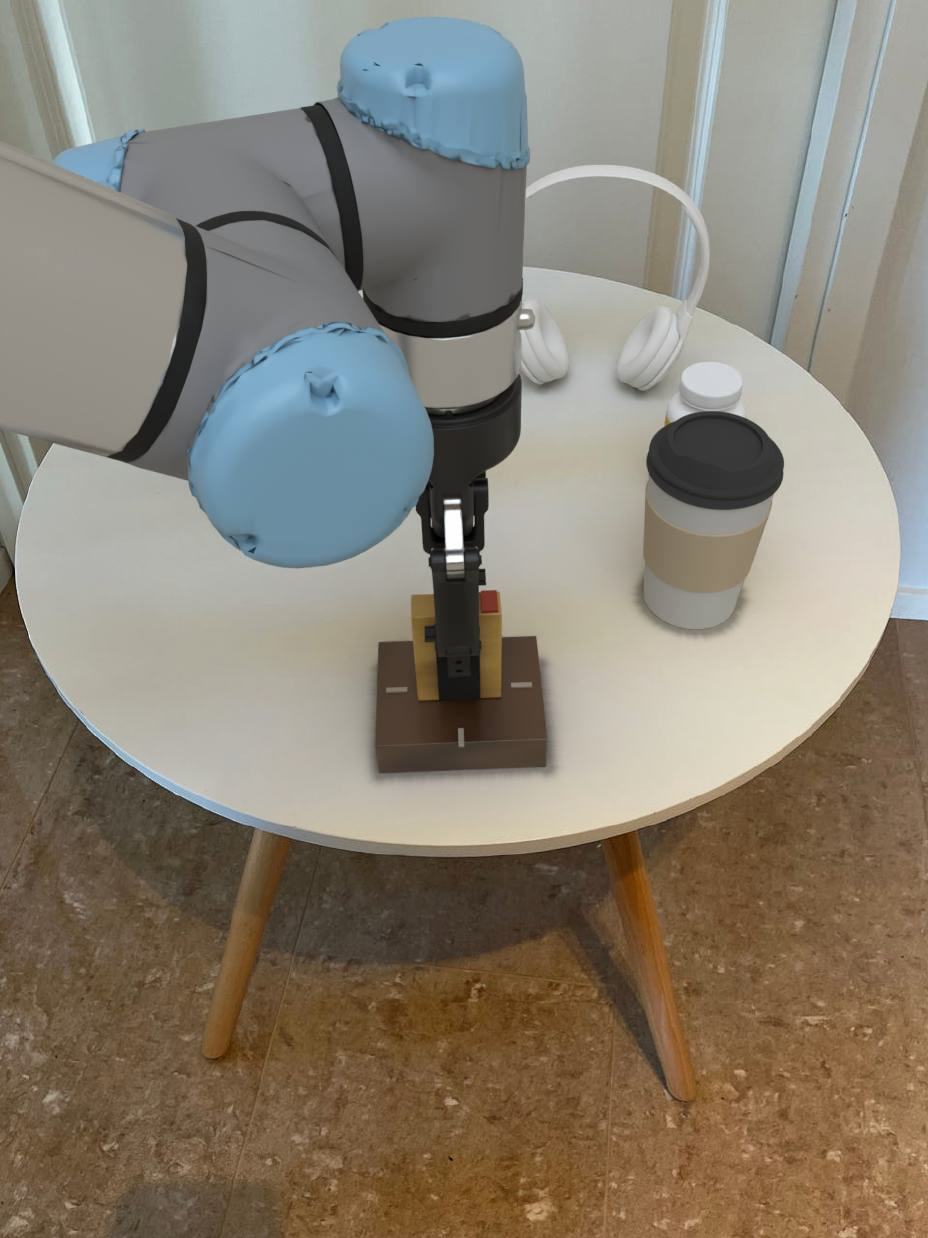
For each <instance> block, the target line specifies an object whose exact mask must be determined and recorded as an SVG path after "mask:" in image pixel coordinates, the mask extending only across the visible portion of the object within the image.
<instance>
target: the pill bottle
mask: <svg viewBox="0 0 928 1238" xmlns="http://www.w3.org/2000/svg"><path fill="white" fill-rule="evenodd" d="M743 384H744V379H743V376H742V375H741V373H740V372H739V371H738V370H737V369H736V368H734V367H733V366H731V365H728V364H726V363H723V362H719V361H701V362H697V363H693V364H691V365H689V366H688V367H686V368H685V369H684V370H683V371H682V373H681V375H680V381H679V386H678V391H677V392H676V393H674V395H672V397H671V398H670V400H669V402H668V404H667V407H666V410H665V419H664V426H666V425H668V424H670V423H672V422H674V421H677V420H678V419H680V418H681V417H683V416H686V415H688V414H692V413H696V412H703V411H719V412H726V413H731V414H735V415H739V416H742V417H744V418H746V419H747V409H746V406H745V404H744V402H743V400H742V399H741V396H742V392H743V387H744V385H743Z"/></svg>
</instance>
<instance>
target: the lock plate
mask: <svg viewBox="0 0 928 1238" xmlns="http://www.w3.org/2000/svg"><path fill="white" fill-rule="evenodd" d="M540 667H541V666H540V657H539V649H538V638H537V635H522V636H502V655H501V697H495V698H481V699H470V700H447V701H439V700H422V701H419V700H418V694H417V682H416V671H415V659H414V647H413V640H394V641H392V640H391V641H379V642H378V643H377V672H376V673H377V675H376V701H375V732H374V733H375V737H374V748H375V749H374V750H375V754H376V761H377V762H376V763H377V769H378V773H379V774H392V773H418V772H419V773H420V772H441V771H443V772H444V771H446V772H447V771H466V770H467V771H469V770H492V769H493V770H494V769H516V768H517V769H518V768H519V769H520V768H543V767H544V768H545V767H547V754H548V753H547V752H548V733H547V723H546V713H545V704H544V695H543V694H544V693H543V686H542V677H541V668H540Z"/></svg>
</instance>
